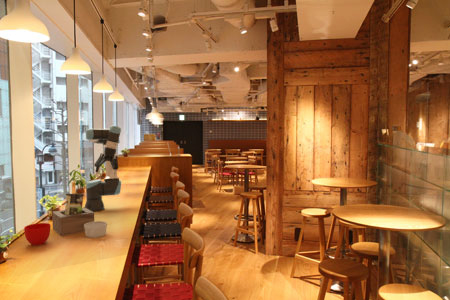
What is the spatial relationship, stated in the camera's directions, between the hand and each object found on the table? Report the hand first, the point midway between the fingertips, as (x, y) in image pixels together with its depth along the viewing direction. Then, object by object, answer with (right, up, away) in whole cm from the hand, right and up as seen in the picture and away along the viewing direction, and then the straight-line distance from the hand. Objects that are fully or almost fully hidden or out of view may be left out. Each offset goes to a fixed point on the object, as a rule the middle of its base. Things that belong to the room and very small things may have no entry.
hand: (104, 177), depth 244 cm
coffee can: (-13, -23, -20) cm, 33 cm away
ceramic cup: (-21, -33, -46) cm, 60 cm away
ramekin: (+6, -32, -32) cm, 46 cm away
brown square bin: (-13, -32, -20) cm, 40 cm away
